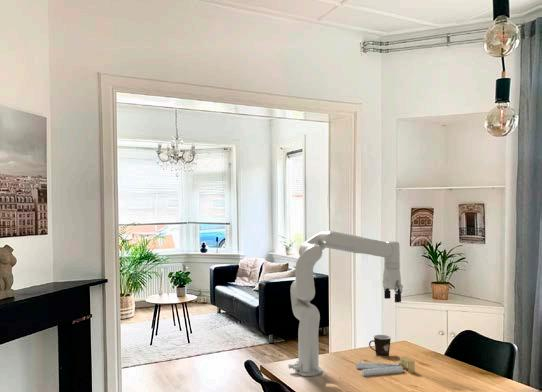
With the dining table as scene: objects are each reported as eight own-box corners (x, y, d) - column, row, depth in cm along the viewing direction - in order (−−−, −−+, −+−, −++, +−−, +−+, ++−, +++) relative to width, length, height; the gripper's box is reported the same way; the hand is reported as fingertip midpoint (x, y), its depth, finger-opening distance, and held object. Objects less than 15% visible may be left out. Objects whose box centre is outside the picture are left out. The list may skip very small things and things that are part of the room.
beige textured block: (409, 373, 193) (408, 361, 193) (400, 367, 200) (400, 356, 200) (414, 372, 194) (414, 361, 194) (405, 367, 201) (405, 356, 201)
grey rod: (356, 368, 199) (356, 362, 199) (356, 367, 201) (355, 361, 201) (402, 370, 196) (402, 364, 196) (401, 369, 198) (401, 363, 198)
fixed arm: (363, 376, 189) (363, 370, 189) (362, 375, 191) (362, 369, 191) (402, 372, 194) (402, 366, 194) (401, 371, 196) (401, 365, 196)
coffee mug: (389, 354, 224) (389, 335, 225) (392, 359, 216) (392, 339, 217) (367, 353, 226) (367, 334, 226) (369, 358, 217) (369, 338, 218)
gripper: (376, 264, 220) (377, 297, 219) (394, 268, 203) (395, 303, 202) (389, 264, 222) (390, 296, 221) (408, 267, 205) (409, 303, 204)
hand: (392, 300), depth 211 cm, fingers open, 9 cm apart
